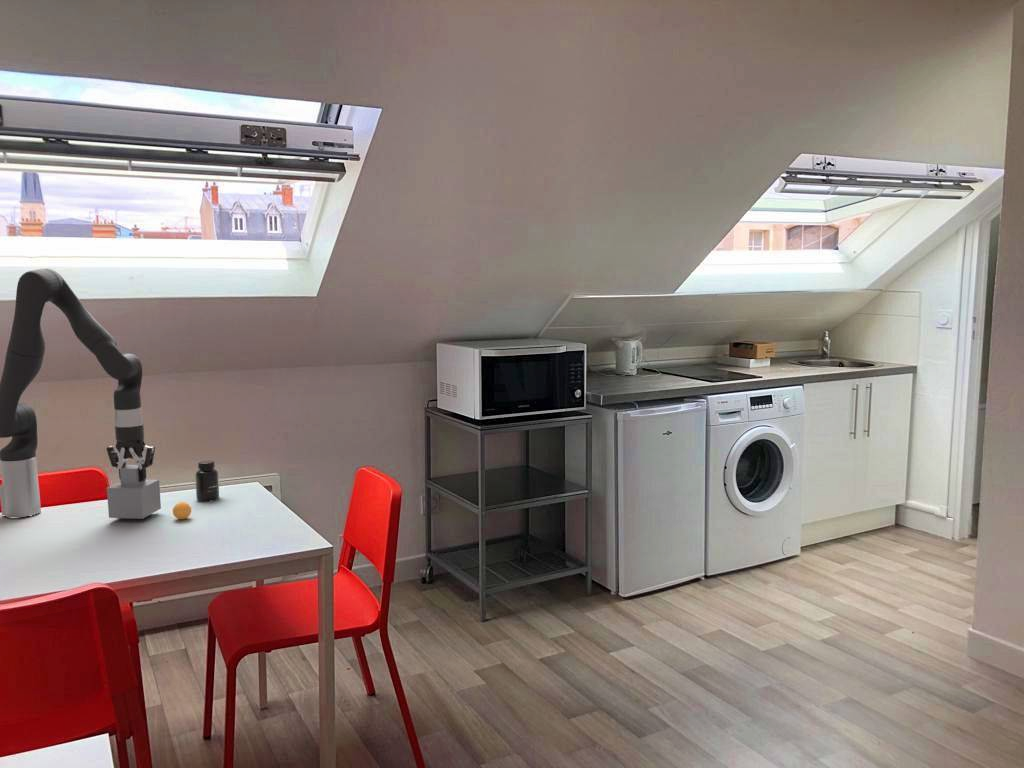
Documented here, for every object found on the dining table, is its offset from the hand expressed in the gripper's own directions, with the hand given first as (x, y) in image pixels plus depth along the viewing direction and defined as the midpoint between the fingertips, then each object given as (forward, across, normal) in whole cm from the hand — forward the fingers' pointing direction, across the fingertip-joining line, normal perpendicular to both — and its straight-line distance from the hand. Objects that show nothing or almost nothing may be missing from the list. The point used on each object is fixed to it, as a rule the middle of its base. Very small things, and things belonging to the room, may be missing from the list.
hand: (133, 480), depth 245 cm
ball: (+9, +14, 0) cm, 17 cm away
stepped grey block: (+10, 0, 0) cm, 10 cm away
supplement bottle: (+11, +12, +21) cm, 27 cm away
